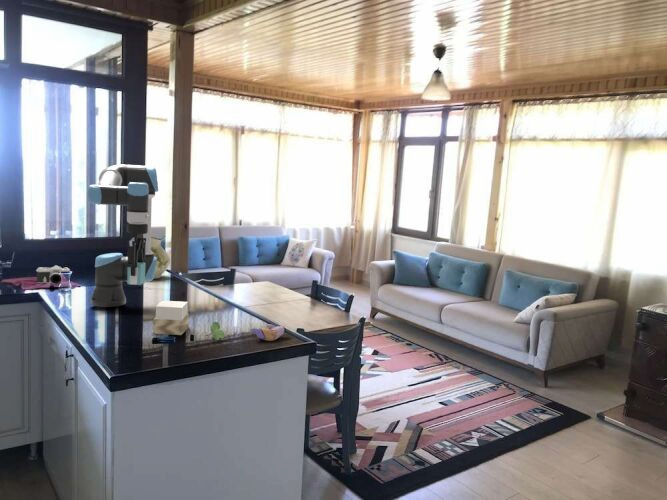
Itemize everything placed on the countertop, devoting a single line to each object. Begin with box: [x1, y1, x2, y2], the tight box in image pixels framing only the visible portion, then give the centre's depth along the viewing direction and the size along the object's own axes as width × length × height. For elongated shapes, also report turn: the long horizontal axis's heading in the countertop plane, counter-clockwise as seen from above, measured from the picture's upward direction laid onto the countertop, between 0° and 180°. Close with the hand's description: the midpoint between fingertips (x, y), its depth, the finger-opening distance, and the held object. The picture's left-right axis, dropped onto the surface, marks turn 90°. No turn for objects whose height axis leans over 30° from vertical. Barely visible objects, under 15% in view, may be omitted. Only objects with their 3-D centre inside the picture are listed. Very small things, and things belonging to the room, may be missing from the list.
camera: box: [36, 264, 71, 285], centre depth 284 cm, size 16×9×10 cm, turn 116°
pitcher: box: [151, 236, 171, 280], centre depth 317 cm, size 22×24×25 cm
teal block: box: [126, 262, 146, 286], centre depth 209 cm, size 5×5×8 cm
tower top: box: [155, 300, 189, 320], centre depth 213 cm, size 10×10×5 cm
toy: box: [250, 323, 287, 342], centre depth 210 cm, size 9×6×15 cm
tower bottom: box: [152, 313, 190, 336], centre depth 214 cm, size 11×11×6 cm
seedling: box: [204, 321, 226, 341], centre depth 207 cm, size 7×8×6 cm
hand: (136, 282), depth 209 cm, fingers closed on teal block, 5 cm apart
